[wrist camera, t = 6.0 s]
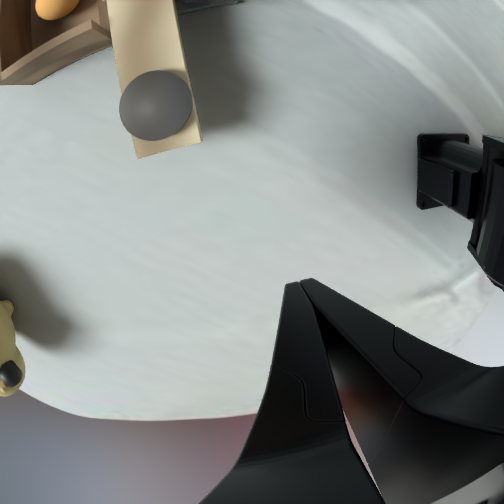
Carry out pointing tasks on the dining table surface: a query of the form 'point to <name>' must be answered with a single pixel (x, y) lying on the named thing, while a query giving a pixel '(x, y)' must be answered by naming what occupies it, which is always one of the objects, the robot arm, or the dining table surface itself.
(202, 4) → the fulcrum
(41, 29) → the tray
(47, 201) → the dining table surface
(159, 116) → the lever
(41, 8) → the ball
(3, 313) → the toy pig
